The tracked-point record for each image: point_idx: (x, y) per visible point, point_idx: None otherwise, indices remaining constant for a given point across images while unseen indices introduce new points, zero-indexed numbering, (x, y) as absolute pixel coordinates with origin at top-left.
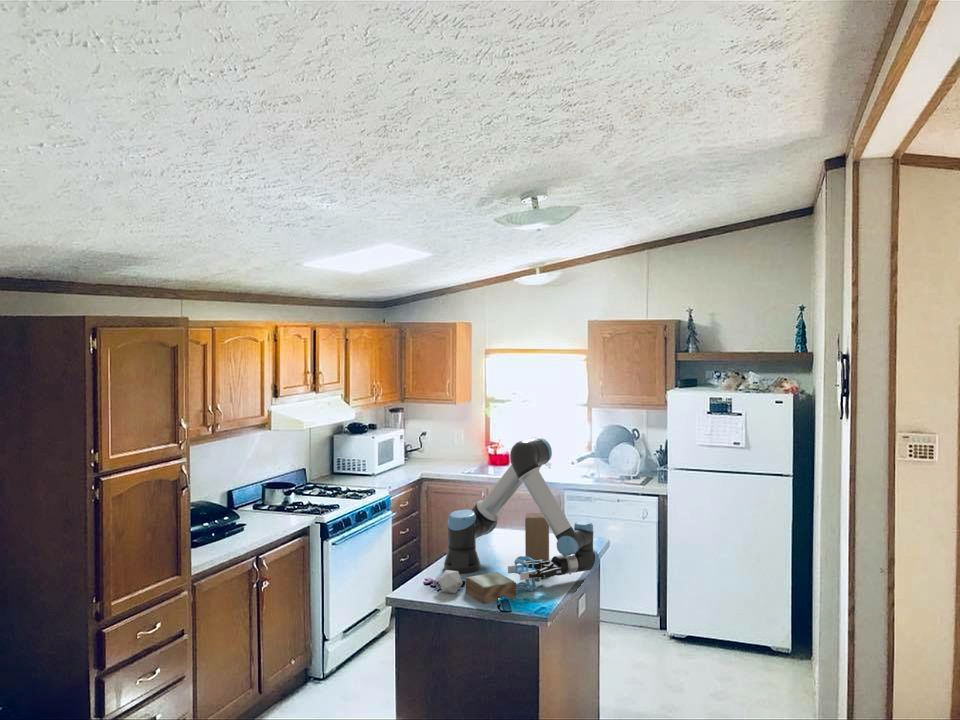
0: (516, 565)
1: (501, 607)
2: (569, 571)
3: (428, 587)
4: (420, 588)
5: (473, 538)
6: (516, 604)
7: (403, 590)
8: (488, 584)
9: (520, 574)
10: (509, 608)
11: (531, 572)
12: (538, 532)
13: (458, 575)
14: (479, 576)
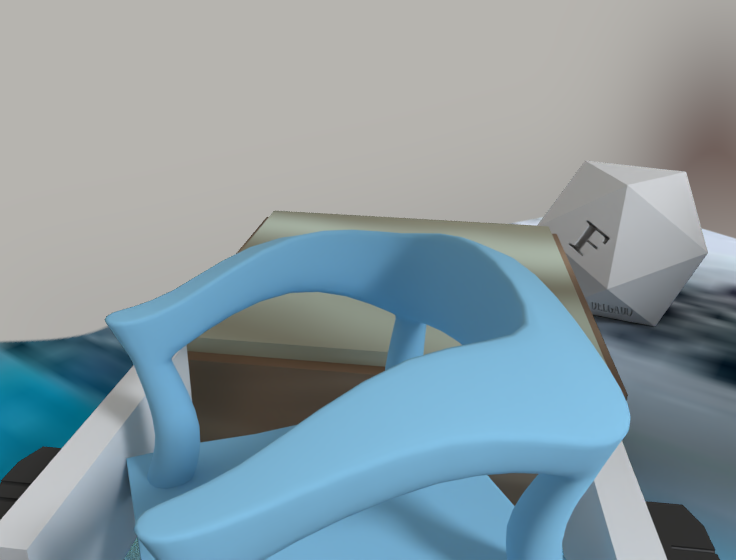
0: (392, 332)
1: (120, 345)
2: None
3: (731, 279)
4: (720, 261)
5: None
6: (49, 421)
7: (702, 230)
8: (291, 231)
9: (187, 366)
10: (52, 362)
11: (57, 472)
12: None
13: (597, 207)
14: (526, 258)
